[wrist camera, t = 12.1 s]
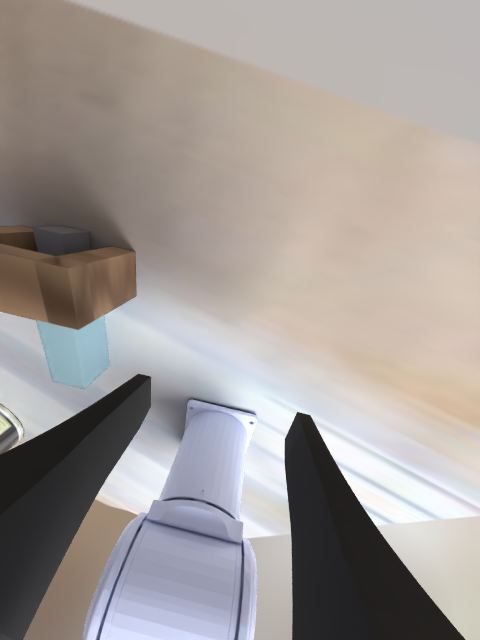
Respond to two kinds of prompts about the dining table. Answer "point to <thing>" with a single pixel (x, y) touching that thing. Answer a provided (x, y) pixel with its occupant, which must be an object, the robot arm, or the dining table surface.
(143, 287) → the dining table surface
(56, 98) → the dining table surface
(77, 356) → the light blue pillar
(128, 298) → the brown block
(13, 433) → the coffee can
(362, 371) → the dining table surface
